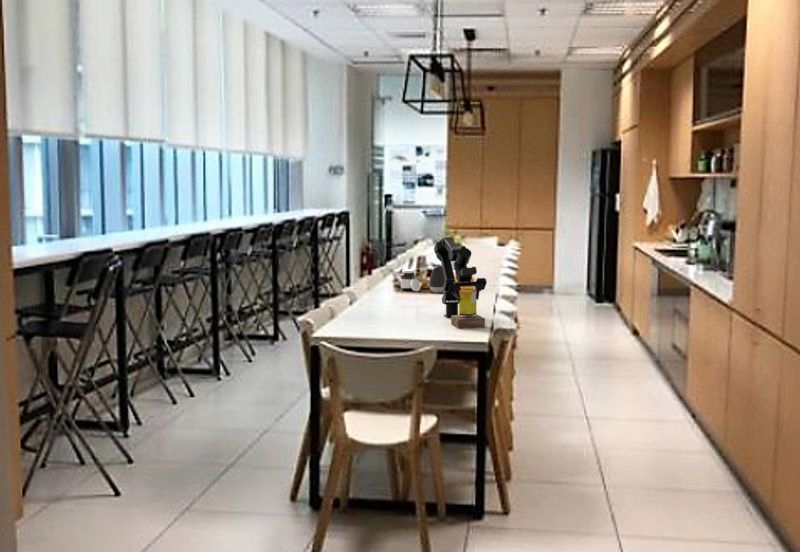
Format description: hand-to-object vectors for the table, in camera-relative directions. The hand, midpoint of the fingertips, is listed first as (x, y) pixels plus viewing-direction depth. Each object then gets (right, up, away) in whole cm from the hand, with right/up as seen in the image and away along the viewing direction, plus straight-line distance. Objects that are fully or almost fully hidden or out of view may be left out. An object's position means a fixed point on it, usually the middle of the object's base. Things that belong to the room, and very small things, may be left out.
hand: (468, 299), depth 403 cm
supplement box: (0, -7, +2) cm, 7 cm away
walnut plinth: (0, -12, +3) cm, 12 cm away
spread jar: (-24, +2, +120) cm, 123 cm away
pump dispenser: (-9, +1, +112) cm, 112 cm away
